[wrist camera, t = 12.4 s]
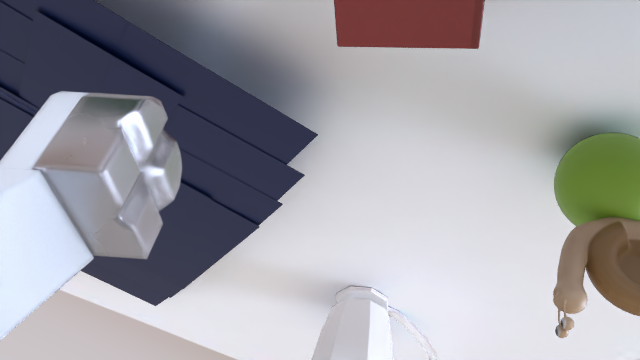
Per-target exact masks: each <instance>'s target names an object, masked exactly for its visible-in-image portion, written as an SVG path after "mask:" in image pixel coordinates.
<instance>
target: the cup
mask: <svg viewBox="0 0 640 360" xmlns="http://www.w3.org/2000/svg"><path fill="white" fill-rule="evenodd" d="M336 303H337V305H335V306H333V307H332V309H331V311H330V313H329V315H328V317H327V320H326V322H325V324H324V326H323V328H322V330H321V333H320V336H319V339H318V342H317V345H316V348H315V351H314V354H313V357H312V359H311V360H393V350H392V334H391V328H390V323H389V317H388V316H390V317H392V318H394V319H395V320H396V321H398V322H399V323H400V324H402V325H403V326H404V327H405V328H406V329H407V330H408V331H409V332H410V333H411V334H412V335H413V336H414V338H415V339H416V340H417V341H418V342H419V343H420V344H421V346H422V347H423V348H424V350H425V351H426V353H427V354H428V357H429V360H437V356H436V352H435V350H434V348H433V346H432V345H431V343H430V342H429V340H428V339H427V338H426V337H425V335H424V334H423V333H422V332H421V331H420V330H419V329H418V328H417V327H416V326H415V325H414V324H413V323H412V322H411V321H410V320H409V319H408V318H407V317H405V316H404V315H403V314H401V313H400V312H399V311H397V310H396V309H393V308H390V307H388V298H387V297H386V296H384V295H382V294H381V293H379V292H377V291H376V290H374V289H373V288H367V287H353V286H350V287H348V288H346V289H344V290H342V291H340V292H339V293H337V294H336Z"/></svg>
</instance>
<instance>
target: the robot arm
mask: <svg viewBox="0 0 640 360" xmlns="http://www.w3.org/2000/svg"><path fill="white" fill-rule="evenodd" d="M167 120H168V117H167V114H166V112H165V110H164V107H163V105H162V102H161V101H160V100H158V99H156V98H154V97H152V96H137V95H122V94H106V93H82V92H66V91H60V92H58V93H55V94H53V95H51V96H50V97H49V98H48V99H47V101H46V102H45V103H44V105H43V106H42V107H41V109H40V110H39V111H38V112H37V114H36V115H35V116H34V118H33V119H32V120H31V122H30V123H29V124H28V125H27V127H26V128H25V129H24V131H23V132H22V133H21V135H20V136H19V137H18V138H17V140H16V141H15V142H14V144H13V145H12V146H11V148H10V149H9V150H8V151H7V153H6V154H5V155H4V157H3V158H2V159H1V161H0V340H1V339H2V338H3V337H5V336H6V335H7V334H8V333H9V332H10V331H12V330H13V329H14V328H15V327H16V326H17V325H19V324H20V323H21V322H22V321H23V320H24V319H25V318H27V317H28V316H29V315H30V314H31V313H32V312H33V311H35V310H36V309H37V308H38V307H39V306H40V305H41V304H42V303H44V302H45V301H46V300H47V299H48V298H49V297H51V296H52V295H53V294H54V293H55V292H56V291H57V290H59V289H60V288H61V287H62V286H63V285H64V284H65V283H67V282H68V281H69V280H70V279H71V278H72V277H73V276H75V275H76V274H77V273H78V272H79V271H80V270H81V269H83V268H84V267H85V266H86V265H87V264H88V263H89V262H91V261H92V260H93V259H94V257H93V256H108V257H123V258H137V259H147V258H148V255H149V253H150V251H151V249H152V247H153V245H154V242H155V240H156V238H157V236H158V234H159V232H160V229H161V227H162V225H163V222H162V219H161V216H160V214H159V211H160V210H161V209H163V208H164V207H166V206H167V205H168V204H170V203H171V202H172V201H174V198H175V196H176V194H177V191H178V189H179V187H180V181H181V174H182V160H181V153H180V150H179V147H178V144H177V141H176V140H175V139H174V138H172V137H171V136H170V135H169V134H168V133H167V132H165V131H164V130H163V127H164V125H165V123H166V122H167Z"/></svg>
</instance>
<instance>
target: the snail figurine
mask: <svg viewBox="0 0 640 360" xmlns="http://www.w3.org/2000/svg"><path fill="white" fill-rule="evenodd" d="M554 191H555V196H556V200H557V203H558V205H559V207H560V209H561V211H562V212H563V214H564V215H565V216H566V217H567V218H568V220H569V221H571V222H572V223H573V224H574V225H575V226H577V227H575V228H574V229H573V230H572V231H571V232H570V233H569V235H568V237H567V238H566V240H565V242H564V245H563V247H562V251H561V255H560V260H559V266H558V275H557V285H556V287H555V289H554V291H553V295H554V298H553V301H554V304H555V305H556V306H557V308H558V321H559V325H558V326H557V327H556V330H555V332H556V335H557V336H558V337H560V338H565V337H566V336H567V335H568V330H571V329H572V328H573V327H574V321H573V320H572V319H571V318H570V317H566V313H569V314H575V313H578V312H580V311H582V310H583V309H584V308H585V307H586V305H587V294H586V292H585V290H584V288H583V278H584V272H585V267H586V271H587V274H588V276H589V278H590V280H591V282H592V284H593V285H594V286H595V288H596V289H597V290H598V292H599V293H600V294H601V295H602V296H603V297H604V298H605V299H607V300H608V301H609V302H611V303H612V304H613V305H615V306H616V307H618V308H620V309H622V310H623V311H626V312H628V313H631V314H633V315H637V316H640V139H639V138H637V137H634V136H631V135H627V134H622V133H602V134H597V135H594V136H591V137H588V138H586V139H584V140H582V141H580V142H578V143H577V144H575V145H574V146H573V147H572V148H571V149H570V150H569V151H568V152H567V153H566V154H565V155H564V156H563V158H562V159H561V161H560V163H559V165H558V167H557V170H556V174H555V179H554ZM560 311H563V312H564V318H562V319H561V322H560Z"/></svg>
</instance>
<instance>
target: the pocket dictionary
mask: <svg viewBox="0 0 640 360" xmlns="http://www.w3.org/2000/svg"><path fill="white" fill-rule="evenodd" d="M484 1H485V0H334V6H335V19H336V32H337V45H338V46H339V47H402V48H468V49H478V48H479V43H480V34H481V26H482V18H483V9H484Z"/></svg>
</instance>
